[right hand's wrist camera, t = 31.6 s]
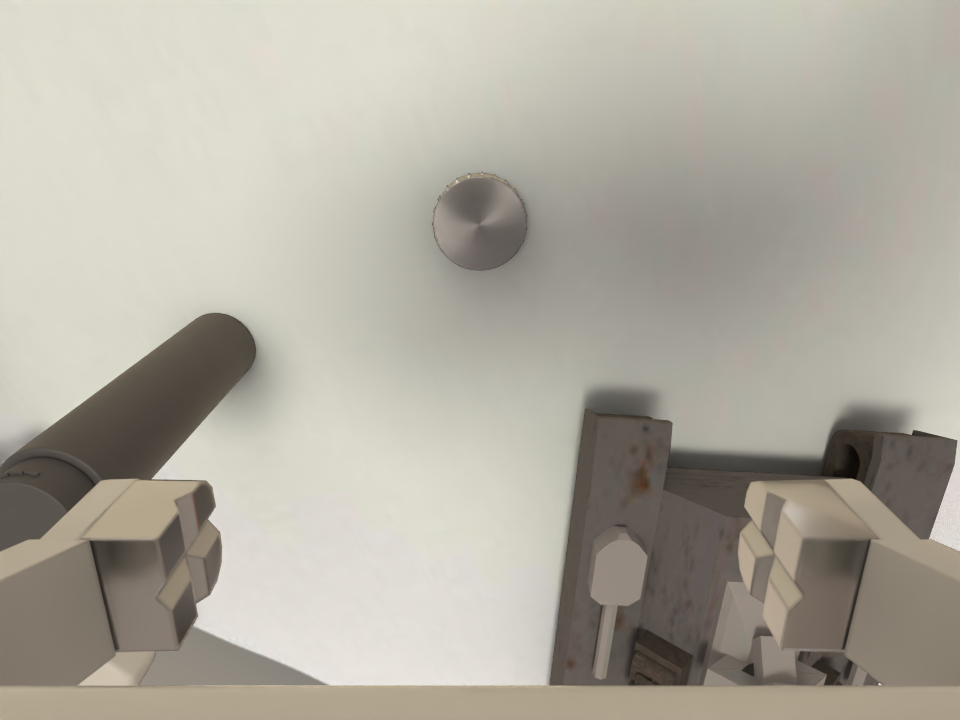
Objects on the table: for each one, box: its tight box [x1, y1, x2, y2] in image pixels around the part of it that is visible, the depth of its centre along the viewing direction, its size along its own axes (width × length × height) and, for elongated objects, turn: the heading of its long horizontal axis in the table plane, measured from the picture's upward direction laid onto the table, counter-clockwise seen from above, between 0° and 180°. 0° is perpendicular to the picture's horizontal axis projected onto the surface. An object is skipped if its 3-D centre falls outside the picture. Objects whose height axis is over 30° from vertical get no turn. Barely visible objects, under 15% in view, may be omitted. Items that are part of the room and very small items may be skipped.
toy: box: [550, 409, 957, 686], centre depth 39 cm, size 25×20×15 cm
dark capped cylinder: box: [0, 313, 255, 551], centre depth 32 cm, size 4×4×19 cm
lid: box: [432, 172, 527, 270], centre depth 37 cm, size 5×5×2 cm
